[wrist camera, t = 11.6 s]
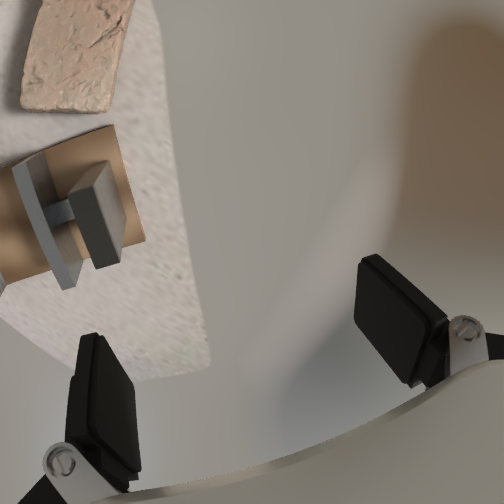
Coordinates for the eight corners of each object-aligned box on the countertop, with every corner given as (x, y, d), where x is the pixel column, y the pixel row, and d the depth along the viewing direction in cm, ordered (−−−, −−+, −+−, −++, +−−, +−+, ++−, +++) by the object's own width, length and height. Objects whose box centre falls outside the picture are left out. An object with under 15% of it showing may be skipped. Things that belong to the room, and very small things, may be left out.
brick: (113, 113, 25) (106, 116, 21) (31, 111, 22) (13, 115, 18) (153, -43, 18) (155, -63, 14) (71, -43, 15) (61, -62, 11)
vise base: (-43, 192, 22) (-71, 214, 17) (113, 124, 25) (103, 131, 20) (-2, 284, 28) (-20, 315, 23) (145, 236, 32) (145, 266, 27)
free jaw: (30, 156, 23) (-9, 181, 16) (101, 129, 24) (80, 143, 17) (71, 264, 29) (54, 316, 22) (136, 245, 30) (133, 294, 23)
